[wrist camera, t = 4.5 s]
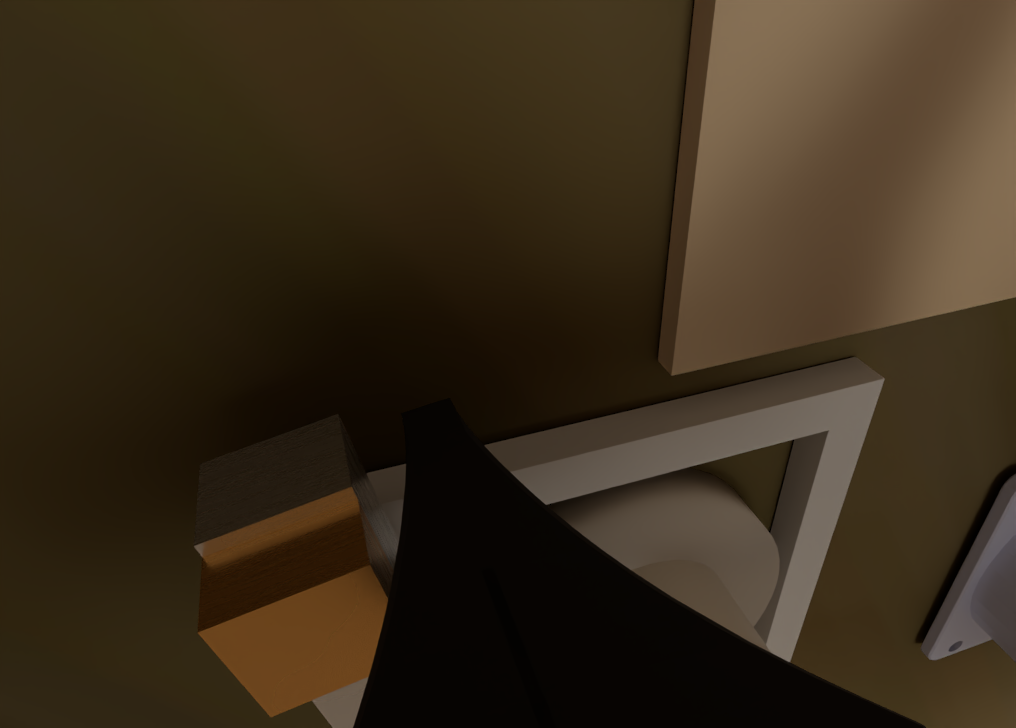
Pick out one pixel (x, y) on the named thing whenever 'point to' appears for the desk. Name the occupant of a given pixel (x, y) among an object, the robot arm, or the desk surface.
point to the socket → (707, 437)
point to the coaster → (839, 172)
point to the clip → (295, 569)
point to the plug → (686, 543)
